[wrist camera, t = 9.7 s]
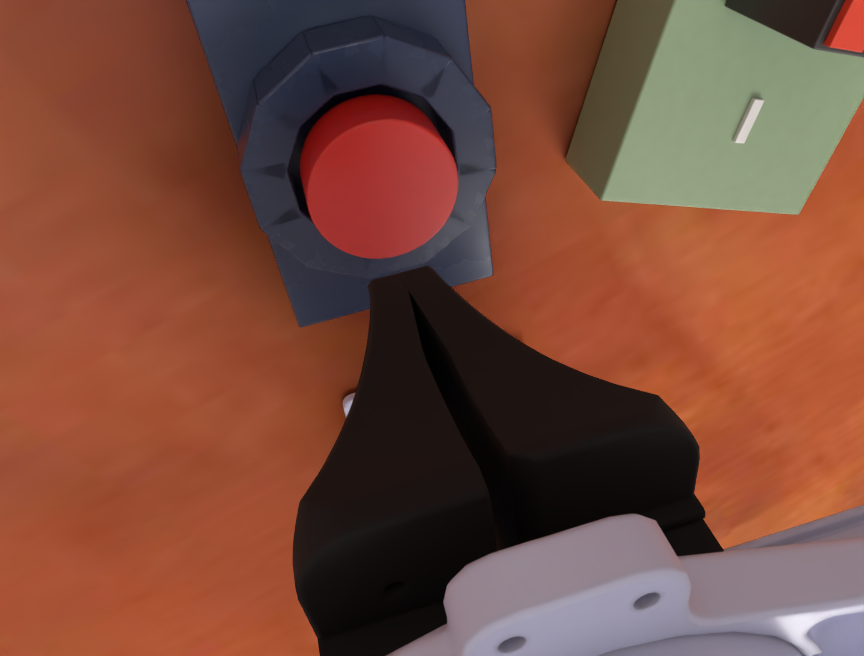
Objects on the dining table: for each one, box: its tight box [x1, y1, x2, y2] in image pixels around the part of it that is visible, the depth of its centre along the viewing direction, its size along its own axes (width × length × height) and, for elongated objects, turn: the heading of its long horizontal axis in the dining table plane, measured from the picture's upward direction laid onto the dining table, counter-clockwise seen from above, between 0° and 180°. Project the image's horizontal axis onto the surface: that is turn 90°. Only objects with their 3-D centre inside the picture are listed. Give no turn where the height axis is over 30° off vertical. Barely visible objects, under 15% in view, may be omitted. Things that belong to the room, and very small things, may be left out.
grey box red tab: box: [725, 0, 864, 58], centre depth 18 cm, size 5×2×4 cm, turn 78°
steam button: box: [300, 94, 458, 259], centre depth 19 cm, size 4×4×2 cm
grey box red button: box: [186, 0, 496, 327], centre depth 21 cm, size 12×7×4 cm, turn 8°
